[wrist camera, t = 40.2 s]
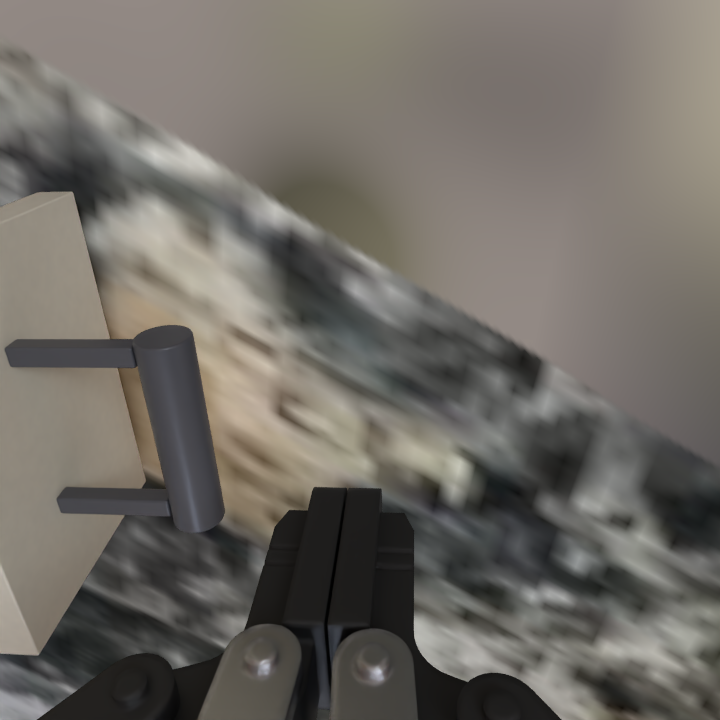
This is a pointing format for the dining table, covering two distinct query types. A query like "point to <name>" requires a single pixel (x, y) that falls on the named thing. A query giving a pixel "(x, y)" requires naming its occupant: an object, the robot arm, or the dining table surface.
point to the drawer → (81, 422)
